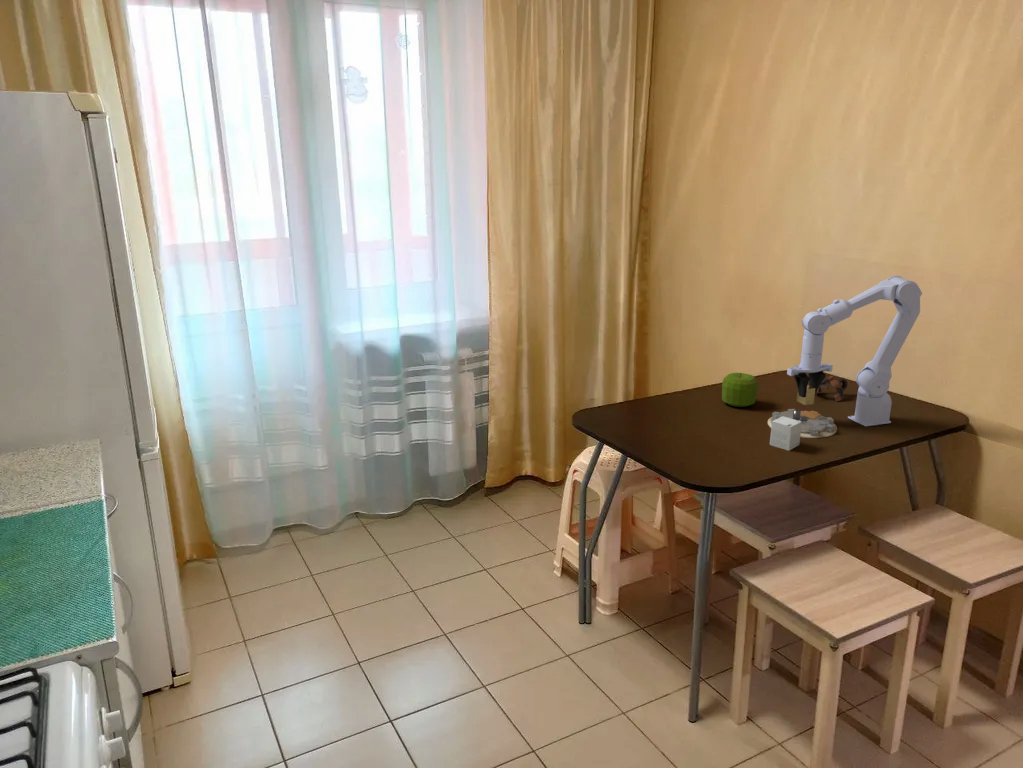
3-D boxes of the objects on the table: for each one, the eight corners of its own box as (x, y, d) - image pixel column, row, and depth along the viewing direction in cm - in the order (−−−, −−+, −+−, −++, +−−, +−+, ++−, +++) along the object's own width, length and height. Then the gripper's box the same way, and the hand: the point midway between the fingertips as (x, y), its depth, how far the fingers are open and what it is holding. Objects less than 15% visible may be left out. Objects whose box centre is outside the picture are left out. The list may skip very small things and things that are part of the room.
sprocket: (786, 409, 237) (787, 392, 235) (843, 422, 225) (846, 405, 223) (760, 424, 224) (761, 407, 222) (819, 439, 212) (821, 421, 211)
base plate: (808, 411, 236) (808, 410, 236) (851, 433, 218) (852, 432, 218) (754, 418, 231) (754, 417, 231) (794, 441, 213) (794, 440, 213)
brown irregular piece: (831, 405, 243) (821, 382, 243) (813, 409, 252) (803, 387, 252) (859, 391, 246) (848, 368, 247) (840, 395, 255) (829, 373, 256)
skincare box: (779, 439, 215) (782, 415, 213) (799, 445, 211) (802, 420, 208) (768, 445, 211) (771, 420, 209) (789, 451, 207) (791, 426, 205)
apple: (723, 409, 239) (725, 377, 236) (718, 398, 250) (720, 367, 246) (759, 410, 238) (762, 378, 235) (752, 399, 248) (755, 368, 245)
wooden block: (796, 401, 229) (798, 385, 227) (805, 399, 230) (806, 384, 228) (805, 405, 225) (806, 389, 224) (813, 404, 226) (815, 388, 224)
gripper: (823, 347, 228) (818, 389, 232) (782, 351, 224) (778, 394, 228) (839, 352, 221) (833, 396, 225) (797, 357, 217) (792, 401, 221)
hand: (806, 395), depth 226 cm, fingers closed on wooden block, 3 cm apart
